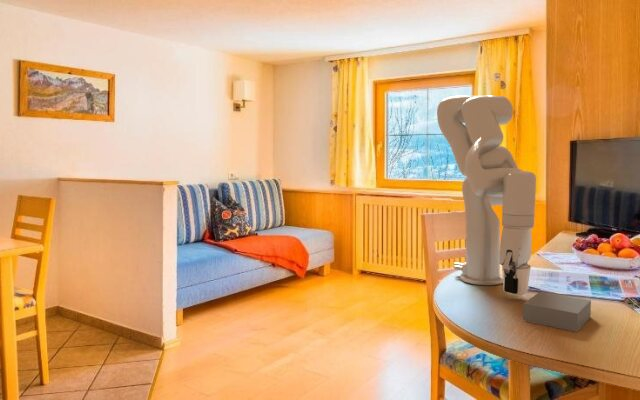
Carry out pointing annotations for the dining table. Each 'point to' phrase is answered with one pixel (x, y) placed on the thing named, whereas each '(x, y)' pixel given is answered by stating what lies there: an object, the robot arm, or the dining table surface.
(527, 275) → the white cup
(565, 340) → the dining table surface
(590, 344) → the dining table surface
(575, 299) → the slate plinth
